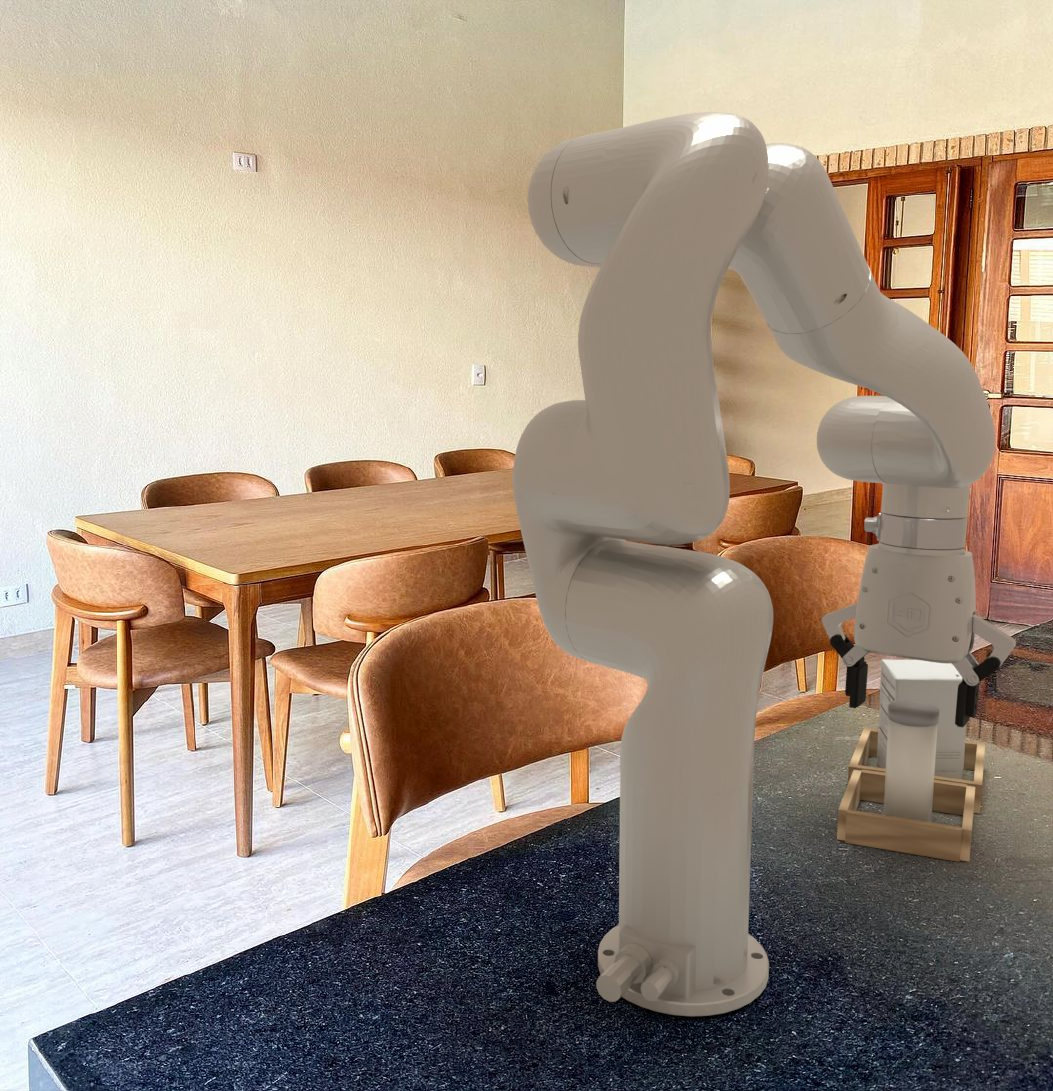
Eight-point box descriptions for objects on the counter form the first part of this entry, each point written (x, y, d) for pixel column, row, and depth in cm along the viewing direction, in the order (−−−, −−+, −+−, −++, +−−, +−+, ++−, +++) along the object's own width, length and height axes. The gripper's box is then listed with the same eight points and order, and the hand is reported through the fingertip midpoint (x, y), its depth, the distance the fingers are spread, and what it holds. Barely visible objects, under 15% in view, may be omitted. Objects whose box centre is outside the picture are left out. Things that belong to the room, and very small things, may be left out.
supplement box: (943, 769, 119) (950, 658, 117) (963, 796, 112) (971, 678, 110) (874, 767, 120) (880, 657, 118) (889, 794, 113) (896, 677, 111)
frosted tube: (925, 841, 102) (933, 719, 100) (876, 830, 104) (882, 711, 102) (936, 824, 106) (944, 706, 103) (888, 813, 108) (895, 698, 106)
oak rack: (976, 864, 97) (978, 833, 97) (829, 840, 102) (831, 810, 102) (983, 769, 119) (985, 743, 119) (862, 752, 124) (864, 727, 124)
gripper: (816, 530, 101) (805, 707, 104) (1017, 548, 92) (999, 742, 94) (841, 522, 107) (830, 689, 110) (1030, 539, 98) (1014, 721, 101)
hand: (908, 713), depth 102 cm, fingers open, 9 cm apart
